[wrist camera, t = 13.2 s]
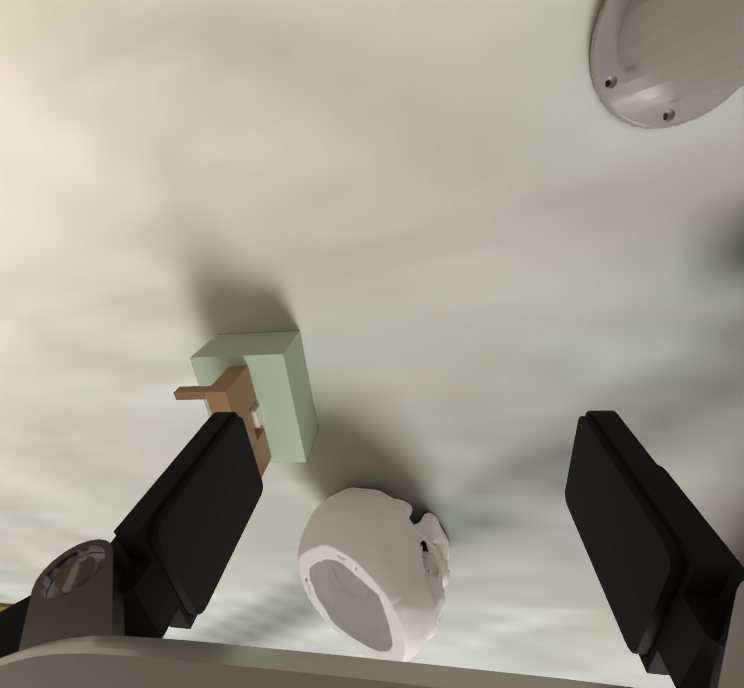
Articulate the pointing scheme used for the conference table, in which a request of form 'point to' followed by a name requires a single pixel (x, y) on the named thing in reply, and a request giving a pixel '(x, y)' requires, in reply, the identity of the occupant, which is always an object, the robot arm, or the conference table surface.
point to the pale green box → (268, 386)
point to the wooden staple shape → (233, 405)
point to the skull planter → (375, 572)
